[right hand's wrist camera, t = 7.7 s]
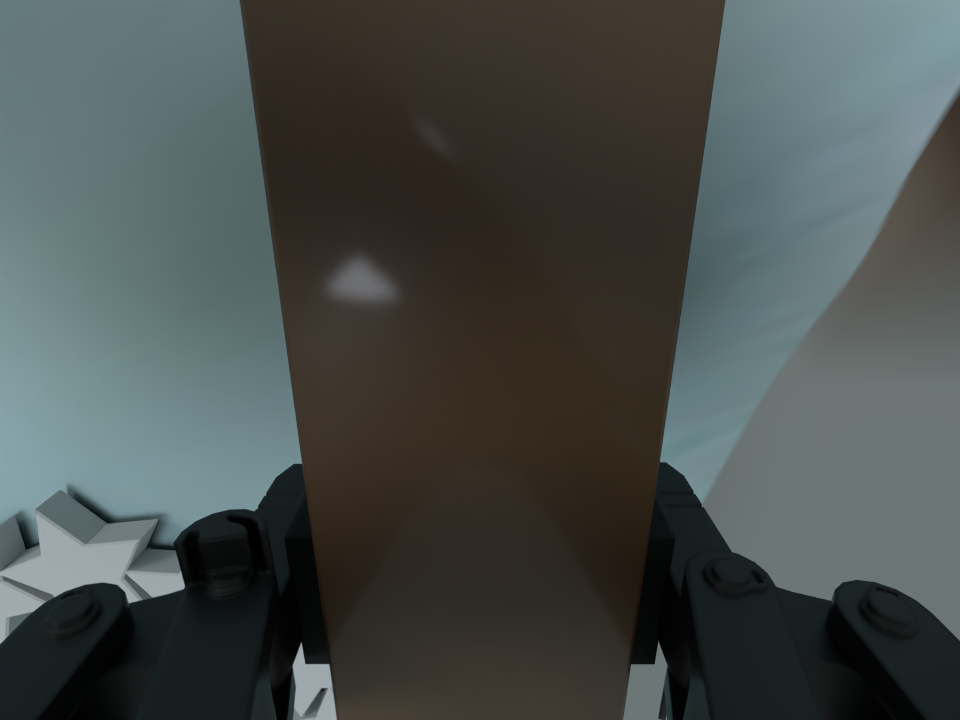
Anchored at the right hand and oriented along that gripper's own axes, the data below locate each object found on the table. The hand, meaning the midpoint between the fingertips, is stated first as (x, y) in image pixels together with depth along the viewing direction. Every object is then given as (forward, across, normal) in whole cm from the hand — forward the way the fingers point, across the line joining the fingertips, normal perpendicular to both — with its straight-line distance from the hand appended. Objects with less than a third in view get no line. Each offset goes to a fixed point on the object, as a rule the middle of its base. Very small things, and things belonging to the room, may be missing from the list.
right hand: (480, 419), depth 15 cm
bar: (+1, 0, -33) cm, 33 cm away
